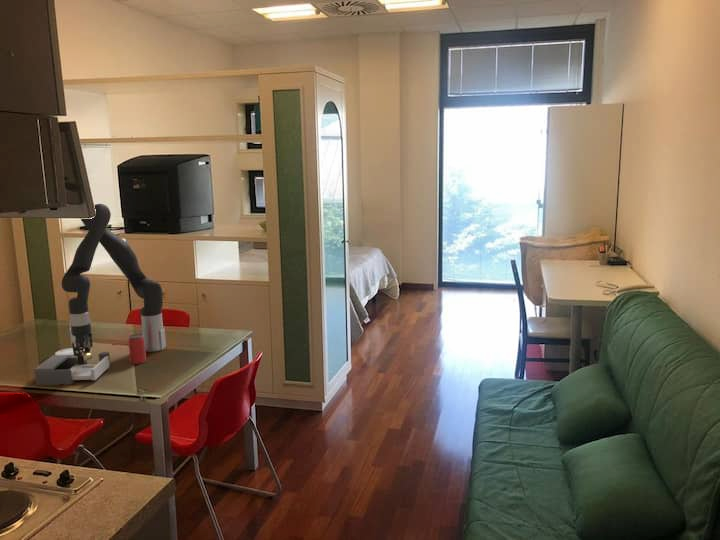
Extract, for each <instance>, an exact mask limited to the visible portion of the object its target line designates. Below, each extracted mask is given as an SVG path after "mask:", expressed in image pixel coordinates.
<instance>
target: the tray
mask: <svg viewBox="0 0 720 540" xmlns="http://www.w3.org/2000/svg"><path fill="white" fill-rule="evenodd" d="M110 366H111V364H109V356H106V357H104V358H103V359H102V360H101V361H100V362H99V361H98V363H90V364H88V363H87V364H84V365H74V366H73V367H72V368H70V369H71V374H72V380H76V381H81V380H84V381H85V380H87V381H88V380H91V381H96V380H97V379H99V377H101V376H102V374H103V373H105V371H106V370H108V369H109V368H110Z"/></svg>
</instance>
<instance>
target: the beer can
mask: <svg viewBox="0 0 720 540" xmlns="http://www.w3.org/2000/svg"><path fill="white" fill-rule="evenodd" d="M128 348H129V349H128V351H129V359H130V363H131V364H134V365H137V364H138V365H139V364H142V363H145V362H146V361H147V351H145V341H144V338H143V333H142V334H141V333H136V334H131V335H129V337H128Z"/></svg>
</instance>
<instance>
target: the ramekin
mask: <svg viewBox="0 0 720 540" xmlns="http://www.w3.org/2000/svg"><path fill="white" fill-rule="evenodd" d="M54 355H70V357H76V356H74V353H73V348H72V347H68V348H63V349H61V350H58V351H56V352H55V353H54Z"/></svg>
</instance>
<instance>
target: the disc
mask: <svg viewBox="0 0 720 540" xmlns="http://www.w3.org/2000/svg"><path fill="white" fill-rule="evenodd" d="M92 353H93V352H92V351H90V352H89V351H84V353H83V356H84V360H87V361H88V360H91V359H92V358H93V354H92ZM76 360H77V361H78V358H77V356H76Z"/></svg>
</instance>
